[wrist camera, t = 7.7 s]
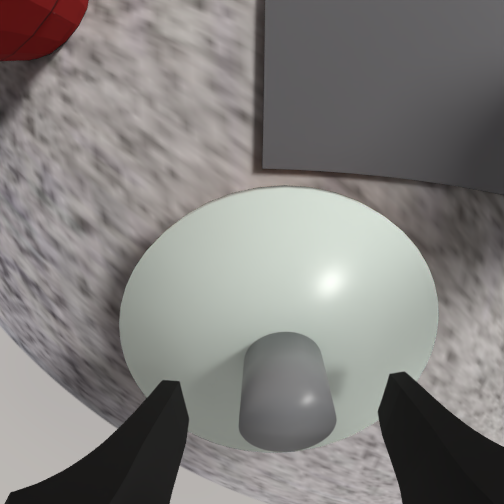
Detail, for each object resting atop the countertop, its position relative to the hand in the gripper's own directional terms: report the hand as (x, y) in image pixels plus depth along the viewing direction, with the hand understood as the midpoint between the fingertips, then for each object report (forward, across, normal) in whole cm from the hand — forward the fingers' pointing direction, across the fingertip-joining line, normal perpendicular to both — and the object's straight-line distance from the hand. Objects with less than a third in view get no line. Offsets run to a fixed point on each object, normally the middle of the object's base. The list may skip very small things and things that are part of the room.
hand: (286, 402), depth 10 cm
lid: (+3, 0, 0) cm, 3 cm away
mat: (+7, -8, -15) cm, 18 cm away
